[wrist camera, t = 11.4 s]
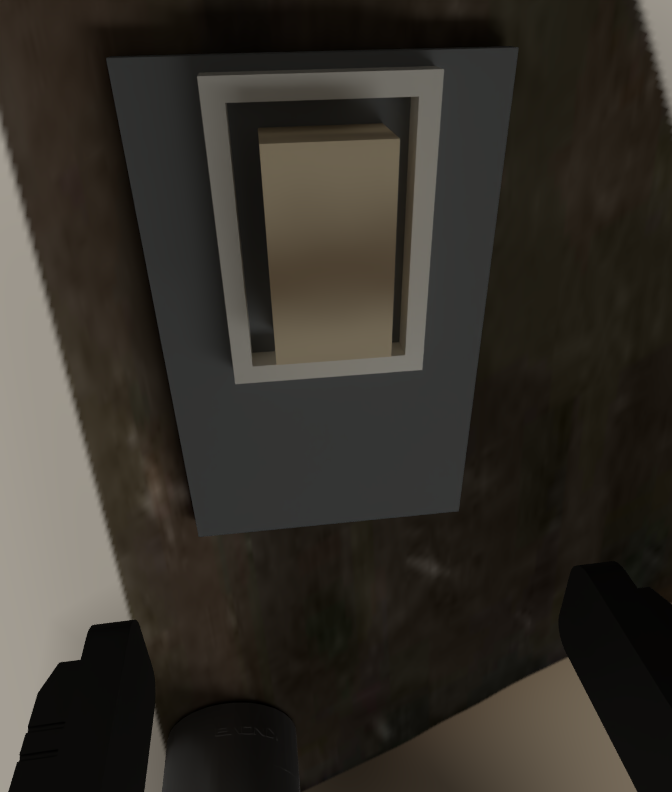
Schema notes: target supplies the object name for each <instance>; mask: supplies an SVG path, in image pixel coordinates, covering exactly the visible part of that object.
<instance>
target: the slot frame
mask: <svg viewBox="0 0 672 792" xmlns="http://www.w3.org/2000/svg"><path fill="white" fill-rule="evenodd" d="M443 79H444V69H442V68H439V67H436V66H418V67H382V68H347V69H311V70H276V71H240V72H205V73H199V74H198V76H197V80H198V88H199V96H200V104H201V112H202V120H203V128H204V136H205V144H206V152H207V161H208V169H209V177H210V185H211V193H212V201H213V209H214V217H215V225H216V233H217V241H218V249H219V257H220V265H221V273H222V281H223V289H224V298H225V306H226V314H227V322H228V330H229V338H230V346H231V354H232V362H233V370H234V378H235V384H245V383H258V382H271V381H284V380H297V379H311V378H324V377H337V376H350V375H363V374H376V373H389V372H402V371H415V370H422V368H423V354H424V340H425V326H426V313H427V299H428V285H429V271H430V257H431V244H432V230H433V216H434V202H435V189H436V175H437V161H438V147H439V134H440V120H441V106H442V92H443ZM390 97H411V107H410V128H409V149H408V170H407V191H406V212H405V233H404V254H403V275H402V297H401V318H400V339H399V342H395V343H392V351H391V357H379V358H365V359H352V360H338V361H324V362H311V363H297V364H284V365H276V353H275V351H270V352H256V353H252V345H251V335H250V325H249V315H248V306H247V296H246V286H245V276H244V267H243V257H242V247H241V237H240V228H239V218H238V208H237V198H236V189H235V179H234V169H233V159H232V150H231V140H230V130H229V120H228V111H227V103H239V102H269V101H299V100H330V99H360V98H390Z"/></svg>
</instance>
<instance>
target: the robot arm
mask: <svg viewBox="0 0 672 792" xmlns="http://www.w3.org/2000/svg"><path fill="white" fill-rule="evenodd" d="M559 632H560V637H561V641H562V644H563V647H564V649H565V651H566V654H567V655H568V657H569V659H570V661H571V663H572V665H573V667H574V669H575V671H576V673H577V675H578V677H579V679H580V681H581V683H582V685H583V687H584V689H585V690H586V693H587V694H588V696H589V698H590V700H591V702H592V704H593V706H594V708H595V710H596V712H597V714H598V716H599V718H600V720H601V722H602V724H603V726H604V728H605V730H606V731H607V733H608V735H609V737H610V739H611V741H612V743H613V745H614V747H615V749H616V751H617V753H618V755H619V757H620V759H621V761H622V763H623V765H624V767H625V768H626V770H627V772H628V774H629V776H630V778H631V780H632V782H633V784H634V786H635V788H636V790H637V792H672V604H671V603H669V602H668V601H667V600H665V599H664V598H663V597H662V596H660V595H659V594H658V593H657V592H655V591H654V590H653V589H651V588H650V587H645V588H637V587H636V585H635V584H634V582H633V581H632V580H631V578H630V577H629V575H628V574H627V572H626V571H625V570H624V568H623V567H622V566H621V565H620V564H618V563H617V562H615V561H609V562H601V563H593V564H586V565H578V566H574V567H573V568H572V570H571V572H570V576H569V580H568V584H567V587H566V591H565V595H564V599H563V603H562V607H561V610H560V614H559ZM154 708H155V678H154V672H153V668H152V665H151V661H150V658H149V655H148V652H147V648H146V645H145V642H144V639H143V635H142V632H141V629H140V626H139V623H138V621H137V620H129V621H121V622H113V623H105V624H97V625H92V626H91V628H90V629H89V631H88V633H87V637H86V641H85V645H84V649H83V653H82V657H81V660H76V661H68V662H61V663H59V664H58V665H57V667H56V668H55V669H54V671H53V672H52V674H51V675H50V677H49V678H48V679H47V681H46V682H45V684H44V685H43V687H42V688H41V689H40V691H39V692H38V695H37V698H36V701H35V704H34V708H33V712H32V714H31V718H30V721H29V725H28V733H26V735H25V738H24V741H23V745H22V748H21V751H20V760H19V762H17V765H16V768H15V771H14V775H13V778H12V781H11V785H10V788H9V791H8V792H144V789H145V781H146V773H147V765H148V756H149V748H150V740H151V733H152V725H153V716H154ZM162 792H300V783H299V768H298V753H297V738H296V729H295V725H294V723H293V722H292V720H291V719H290V718H289V717H288V716H287V715H285V714H284V713H283V712H281V711H279V710H277V709H275V708H272V707H269V706H265V705H261V704H254V703H226V704H219V705H215V706H210V707H206V708H204V709H201V710H198V711H196V712H193V713H192V714H190V715H188V716H186V717H184V718H183V719H182V720H181V721H179V722H178V723H177V724H176V725H175V726H174V727H173V729H172V730H171V731H170V734H169V737H168V741H167V750H166V760H165V769H164V778H163V787H162Z"/></svg>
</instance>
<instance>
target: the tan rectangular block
mask: <svg viewBox="0 0 672 792" xmlns="http://www.w3.org/2000/svg"><path fill="white" fill-rule="evenodd" d="M258 137H259V150H260V162H261V175H262V188H263V201H264V214H265V226H266V239H267V252H268V265H269V277H270V290H271V303H272V316H273V329H274V341H275V353H276V365H284V364H297V363H311V362H324V361H338V360H352V359H365V358H379V357H391V351H392V326H393V301H394V277H395V252H396V227H397V202H398V178H399V153H400V138H399V137H398V136H396V135H395V134H394V133H393V132H392V131H391V130H390V129H389V128H387V127H386V126H385V125H384V124H383V123H377V124H349V125H322V126H294V127H267V128H258Z"/></svg>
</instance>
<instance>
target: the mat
mask: <svg viewBox="0 0 672 792" xmlns="http://www.w3.org/2000/svg"><path fill="white" fill-rule="evenodd" d="M517 56H518V47H512V46H499V47H459V48H420V49H381V50H341V51H302V52H262V53H223V54H183V55H144V56H110V57H108V58H106V60H107V66H108V71H109V76H110V81H111V86H112V91H113V97H114V102H115V107H116V112H117V117H118V122H119V127H120V133H121V138H122V143H123V148H124V153H125V158H126V164H127V169H128V174H129V179H130V184H131V189H132V195H133V200H134V205H135V210H136V215H137V220H138V226H139V231H140V236H141V241H142V246H143V251H144V256H145V262H146V267H147V272H148V277H149V282H150V287H151V293H152V298H153V303H154V308H155V313H156V318H157V324H158V329H159V334H160V339H161V344H162V349H163V355H164V360H165V365H166V370H167V375H168V380H169V385H170V391H171V396H172V401H173V406H174V411H175V416H176V422H177V427H178V432H179V437H180V442H181V447H182V453H183V458H184V463H185V468H186V473H187V478H188V483H189V489H190V494H191V499H192V504H193V509H194V514H195V520H196V525H197V530H198V535H199V537H203V536H213V535H223V534H233V533H243V532H253V531H263V530H273V529H283V528H293V527H303V526H313V525H324V524H334V523H344V522H354V521H364V520H374V519H384V518H394V517H404V516H414V515H424V514H434V513H444V512H454V511H459V504H460V496H461V488H462V481H463V473H464V465H465V457H466V450H467V442H468V434H469V427H470V419H471V411H472V403H473V396H474V388H475V380H476V372H477V365H478V357H479V349H480V342H481V334H482V326H483V318H484V311H485V303H486V295H487V287H488V280H489V272H490V264H491V257H492V249H493V241H494V233H495V226H496V218H497V210H498V202H499V195H500V187H501V179H502V172H503V164H504V156H505V148H506V141H507V133H508V125H509V117H510V110H511V102H512V94H513V87H514V79H515V71H516V63H517ZM418 66H436V67H439V68H442V69H444V79H443V92H442V106H441V120H440V134H439V147H438V161H437V175H436V189H435V202H434V216H433V230H432V244H431V257H430V271H429V285H428V299H427V313H426V326H425V340H424V354H423V368H422V370H415V371H402V372H389V373H376V374H363V375H350V376H337V377H324V378H311V379H297V380H284V381H271V382H258V383H245V384H235V378H234V370H233V362H232V354H231V346H230V338H229V330H228V322H227V314H226V306H225V298H224V289H223V281H222V273H221V265H220V257H219V249H218V241H217V233H216V225H215V217H214V209H213V201H212V193H211V185H210V177H209V169H208V161H207V152H206V144H205V136H204V128H203V120H202V112H201V104H200V96H199V88H198V80H197V76H198V74H199V73H205V72H240V71H276V70H311V69H347V68H382V67H418ZM410 107H411V97H390V98H360V99H330V100H299V101H269V102H239V103H227V111H228V120H229V130H230V140H231V150H232V159H233V169H234V179H235V189H236V198H237V208H238V218H239V228H240V237H241V247H242V257H243V267H244V276H245V286H246V296H247V306H248V315H249V325H250V335H251V345H252V353H256V352H270V351H275V341H274V329H273V316H272V303H271V290H270V277H269V265H268V252H267V239H266V226H265V214H264V201H263V188H262V175H261V162H260V150H259V137H258V128H267V127H294V126H322V125H349V124H377V123H383V124H384V125H385V126H386V127H387V128H389V129H390V130H391V131H392V132H393V133H394V134H395V135H396V136H398V137H399V138H400V153H399V178H398V202H397V227H396V252H395V277H394V301H393V326H392V343H395V342H399V339H400V318H401V297H402V275H403V254H404V233H405V212H406V191H407V170H408V149H409V128H410Z"/></svg>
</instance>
